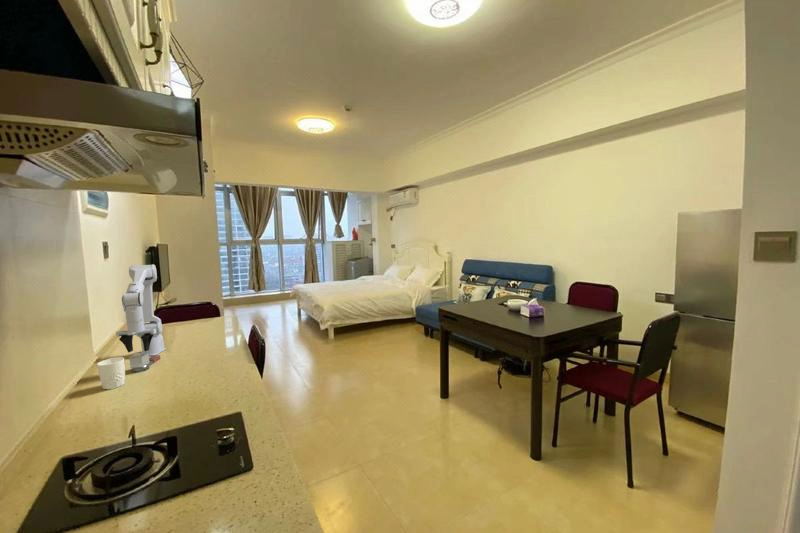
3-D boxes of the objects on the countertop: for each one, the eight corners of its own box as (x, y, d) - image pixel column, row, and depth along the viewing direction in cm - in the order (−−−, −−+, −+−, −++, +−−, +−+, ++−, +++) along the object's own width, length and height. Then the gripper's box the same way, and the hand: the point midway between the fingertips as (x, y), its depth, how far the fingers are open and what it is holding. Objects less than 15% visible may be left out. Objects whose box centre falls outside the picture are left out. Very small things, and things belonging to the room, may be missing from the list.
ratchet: (149, 359, 154) (148, 350, 153) (163, 358, 155) (162, 349, 154) (128, 373, 139) (127, 363, 138) (144, 372, 140) (142, 362, 139)
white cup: (132, 381, 131) (129, 357, 130) (113, 390, 123) (110, 365, 122) (114, 380, 132) (111, 357, 131) (94, 390, 124) (91, 365, 123)
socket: (137, 363, 144) (136, 352, 144) (149, 362, 145) (148, 351, 144) (130, 368, 139) (129, 356, 139) (142, 367, 140) (141, 355, 140)
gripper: (109, 324, 135) (113, 355, 136) (148, 321, 137) (151, 352, 139) (121, 319, 142) (124, 349, 143) (157, 317, 144) (161, 347, 146)
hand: (138, 351), depth 141 cm, fingers open, 6 cm apart
